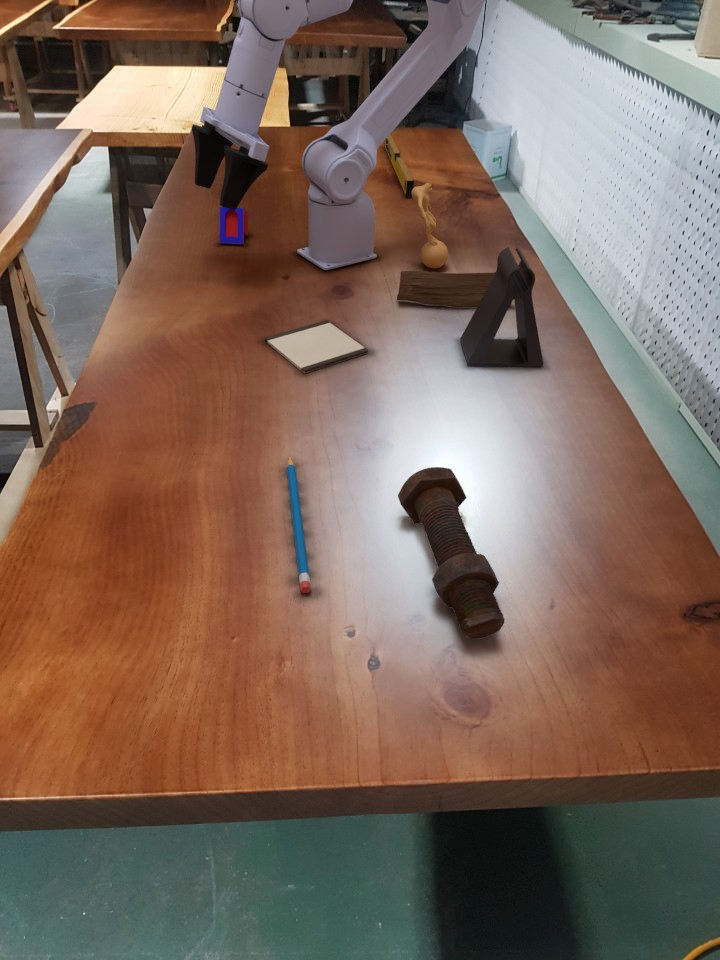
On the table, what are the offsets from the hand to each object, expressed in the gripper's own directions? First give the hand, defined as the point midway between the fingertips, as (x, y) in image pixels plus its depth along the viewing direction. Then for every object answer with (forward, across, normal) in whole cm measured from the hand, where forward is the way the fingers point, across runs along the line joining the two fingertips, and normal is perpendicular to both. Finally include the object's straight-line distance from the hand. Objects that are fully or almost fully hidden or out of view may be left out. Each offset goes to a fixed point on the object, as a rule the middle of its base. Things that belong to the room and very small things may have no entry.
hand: (214, 196), depth 95 cm
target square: (+8, +26, +3) cm, 28 cm away
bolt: (+9, +63, -8) cm, 65 cm away
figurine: (-1, +14, +28) cm, 32 cm away
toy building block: (+8, -10, +11) cm, 17 cm away
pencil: (+12, +52, -14) cm, 55 cm away
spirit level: (-7, -27, +53) cm, 60 cm away
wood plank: (0, +26, +24) cm, 35 cm away
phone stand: (0, +39, +20) cm, 44 cm away
